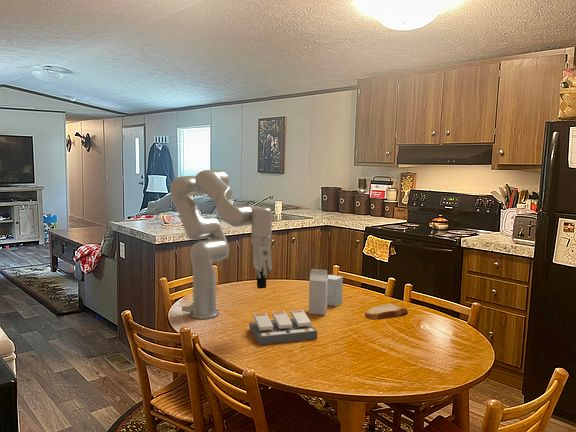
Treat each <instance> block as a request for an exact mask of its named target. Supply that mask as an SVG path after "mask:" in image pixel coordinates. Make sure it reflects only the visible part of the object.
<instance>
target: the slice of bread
mask: <svg viewBox="0 0 576 432" xmlns="http://www.w3.org/2000/svg"><path fill="white" fill-rule="evenodd" d="M408 312H409V311H408V308H407V307H404V306H402V307H401V306H399V305H397V304H396V303H387V304H386V303H385V304H379V305H375V306H373V307H371V308H369V309H367V310H366V311H365V313H364V317H365V318H366V319H368V320H381V319H388V318H389V317H390V318H394V317H395V316H396V317H400V316H402V315H406V314H407V313H408Z"/></svg>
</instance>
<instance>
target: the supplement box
mask: <svg viewBox="0 0 576 432" xmlns="http://www.w3.org/2000/svg"><path fill="white" fill-rule="evenodd" d="M343 280H344V276H342V275H341V276H340V275H333V274H328V295H327V306H331V307H337V306H340V305H341V304H343V288H344V287H343V282H344V281H343Z"/></svg>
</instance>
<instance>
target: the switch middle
mask: <svg viewBox="0 0 576 432" xmlns="http://www.w3.org/2000/svg"><path fill="white" fill-rule="evenodd" d="M271 316H272V318H273V320H275V322H276V323H277V325H278V327H279V329H282V328H292V322H291V321H290V319H291V318H290V317H289V316H288V314H287V312H286V311H285V310H279V311H278V310H277V311H276V310H275V311H272V312H271Z"/></svg>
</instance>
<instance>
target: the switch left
mask: <svg viewBox="0 0 576 432" xmlns="http://www.w3.org/2000/svg"><path fill="white" fill-rule="evenodd" d="M253 320H254V322H256V324H257V326H258V328H259V330H260V331H262V330H272V329H273V325H272V323H271V321H270V320H271V319H270V317H269V315H268V313H267V312H265V311H263V312H254V313H253Z"/></svg>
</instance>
